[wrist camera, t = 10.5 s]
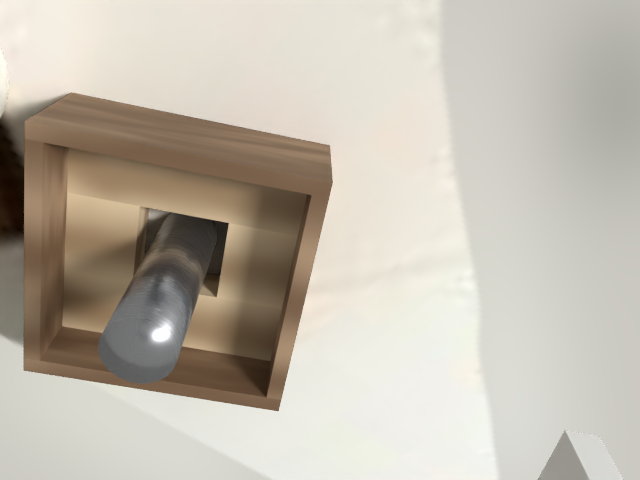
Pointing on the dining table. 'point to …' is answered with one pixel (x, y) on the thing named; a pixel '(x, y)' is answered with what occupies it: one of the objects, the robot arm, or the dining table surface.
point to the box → (130, 238)
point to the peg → (159, 301)
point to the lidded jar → (3, 82)
